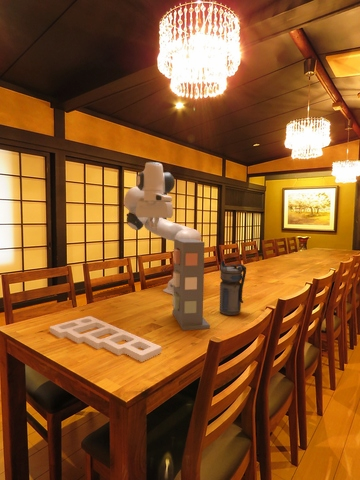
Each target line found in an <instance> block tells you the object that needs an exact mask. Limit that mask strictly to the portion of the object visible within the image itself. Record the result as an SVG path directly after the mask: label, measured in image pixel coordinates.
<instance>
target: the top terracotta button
mask: <svg viewBox="0 0 360 480" xmlns="http://www.w3.org/2000/svg"><path fill="white" fill-rule="evenodd" d="M172 261H173V264H174V263H175V264H180V249H173V259H172Z"/></svg>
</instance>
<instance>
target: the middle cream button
mask: <svg viewBox="0 0 360 480" xmlns="http://www.w3.org/2000/svg"><path fill="white" fill-rule="evenodd" d="M172 279H173V285H174V286H175V287H180V272H174V271H172Z"/></svg>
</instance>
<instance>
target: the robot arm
mask: <svg viewBox="0 0 360 480" xmlns="http://www.w3.org/2000/svg"><path fill="white" fill-rule="evenodd" d="M175 183H176V181H175V177H174V176H173V174H171V172H169V171H166V172H164V167H163V164H162V163H161V162H157V161H156V162H154V161H147V162H146V163H145V164H144V169H143V171H141V172H139V173H138V174H137V175H136V186H133V187H131V188H129V189H128V190H127V192H126V194H125V195H124V199H123V205H124V207H125V209H126V210H128V213H126V224H127V226H128V227H129V228H130V229H132V230H135V231H139V230H141V229H142V228H143V227H144V228H145V230H147V231H149V232H150V233H152V234H154V235H156V236H158V237H161V238H163V239H166V240H168V241H172V242H174V239H195V240H198V241H202V234H201V233H200V231H198V230H197V229H194V228H193V227H188V226H185V225H183V224H179V223H176V222H173V221H172V220H171V221H170V220H168V219H171V218H172V217H173V216H174V215H173V214H174V206H173V203H172V202H173V197H172V196H171V195H168V194H169V193H171V192H172V191H173V190H174V188H175ZM163 293H167V294H169V295H172V296H173V294H174V285H173V278H171V279H170V280H169V281H168V283H167V286H166V287H165V288H164V289H163Z"/></svg>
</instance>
